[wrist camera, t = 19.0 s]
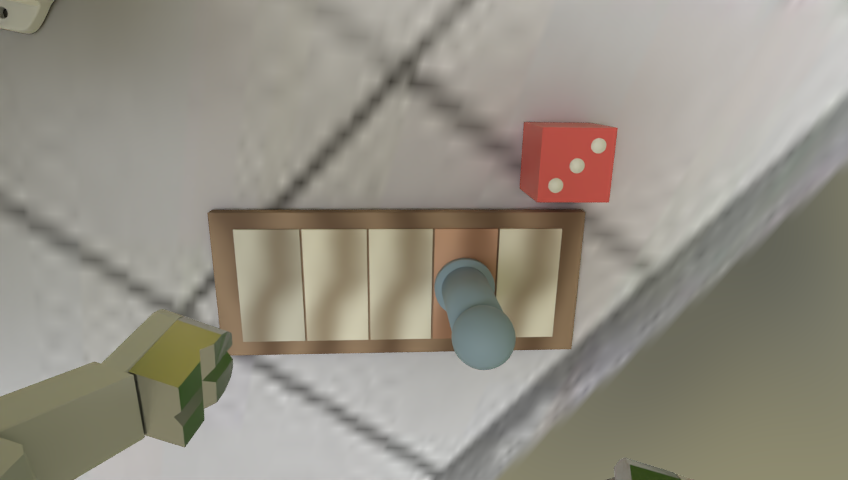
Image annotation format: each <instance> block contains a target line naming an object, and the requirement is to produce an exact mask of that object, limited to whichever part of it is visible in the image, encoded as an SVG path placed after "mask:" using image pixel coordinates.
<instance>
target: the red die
mask: <svg viewBox="0 0 848 480" xmlns="http://www.w3.org/2000/svg"><path fill="white" fill-rule="evenodd" d="M616 137H617V128H615V127H610V126H604V125H599V124H594V123H562V122H524V129H523V144H522V159H521V174H520V189H521V190H522V191H523V192H525V193H526V194H527V195H529V196H530V197H531V198H532V199H534V200H535V201H536V202H609V197H610V188H611V180H612V171H613V163H614V154H615V145H616Z"/></svg>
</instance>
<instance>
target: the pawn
mask: <svg viewBox="0 0 848 480" xmlns="http://www.w3.org/2000/svg"><path fill="white" fill-rule="evenodd" d="M434 290H435V295H436V298H437V301H438V303H439V304H440V306H441V307H442V308H443V309H444V310H445V311H446V312H447V315H448V319H449V323H450V327H451V331H452V335H451V336H452V345H453V348H454V351H455V353H456V354H457V356H458V357H459V358H460V359H461V361H463V362H464V363H465V364H466V365H468V366H470V367H472V368H475V369H479V370H489V369H493V368H496V367H498V366H500V365H502V364H503V363H505V362H506V361H507V360H508V358H509V357H510V356H511V354H512V352H513V350H514V347H515V341H516V336H515V330H514V327H513V324H512V322H511V321H510V319H509V318H508V316H507V315H506V314H505V313H504V312H503V310H502V308H501V306H500V304H499V302H498V300H497V298H496V296H495V294H494V292H495V282H494V279H493V276H492V274H491V272H490V271H489V269H488V268H487V267H486V266H485V265H484V264H483V263H481V262H480V261H478V260H475V259H472V258H459V259H455V260H452V261H450V262H449V263H447V264H446V265H444V266H443V267H442V268H441V270H440V271H439V272H438V274H437V276H436V279H435V284H434Z"/></svg>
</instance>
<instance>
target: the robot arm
mask: <svg viewBox="0 0 848 480" xmlns="http://www.w3.org/2000/svg"><path fill="white" fill-rule="evenodd" d="M53 2H54V0H0V29H4V30H9V31H14V32H18V33H23V34H31V33H34V32H35V31H37V30H38V29H39V28H40V26H41V25H42V23H43V21H44V19H45V17H46V15H47V13H48V11H49V9H50V6H51V4H52V3H53ZM4 9H6V10H7V11H8V16H7V18H5V17H4V16H3V10H4ZM231 346H232V333H230V332H228V331H225V330H222V329H220V328H217V327H214V326H211V325H208V324H205V323H202V322H200V321H197V320H194V319H191V318H188V317H185V316H182V315H179V314H176V313H173V312H170V311H167V310H164V309H161V310H159V311H156V312H154V313H153V314H152V315H151V316H150V317H149V318H148V319H147V320H146V321H145V322H144V323H143V324H142V325H140V326H139V327H138V328H137V329H136V330H135V331H134V332H133V333H132V334H131V335H130V336H129V337H128V338H127V339H126V340H125V341H124V342H123V343H122V344H121V345H120V346H119V347H118V348H117V349H116V350H115V351H114V352H113V353H112V354H111V355H110V356H109V357H108V358H106V359H105V360H104V361H103V362H102V363H101V364H100V363H97V362H92V363H89V364H87V365H84V366H81V367H79V368H76V369H73V370H71V371H68V372H65V373H63V374H60V375H57V376H55V377H52V378H49V379H47V380H44V381H41V382H39V383H36V384H33V385H30V386H28V387H25V388H22V389H20V390H17V391H14V392H12V393H9V394H6V395H4V396H1V397H0V480H74V479H76V478H77V477H79V476H81V475H82V474H84V473H86V472H87V471H89V470H91V469H92V468H94V467H96V466H98V465H99V464H101V463H103V462H104V461H106V460H108V459H109V458H111V457H113V456H114V455H116V454H118V453H119V452H121V451H123V450H125V449H126V448H128V447H130V446H131V445H133V444H135V443H136V442H138V441H140V440H141V439H143V438H144V437H145V436H144V435H146V436H150V437H153V438H156V439H159V440H162V441H166V442H169V443H172V444H175V445H179V446H182V447H186V445H187V444H188V442H189V441H190V440H191V438H192V437H193V435H194V434H195V433H196V431H197V430H198V428H199V427H200V426H201V424H202V423H203V421H204V408H207V407H209V406H211V405H213V404H215V403H217V402H218V400H219V399H220V397H221V396H222V394H223V393H224V391H225V389H226V387H227V385H228V382H229V380H230V378H231V374H232V369H233V359H232V357H231V356H230V355H229V353H228V352H227V351H228V350H229V348H230V347H231ZM614 473H615V477H613V478H610V479H607V480H694V479H690V478H687V477H684V476H681V475H678V474H675V473H673V472H670V471H667V470H664V469H660V468H657V467H654V466H651V465H647V464H644V463H641V462H637V461H634V460H631V459H628V458H623V459H621V460H619V461H618V463H617V464H616V465H615V467H614Z"/></svg>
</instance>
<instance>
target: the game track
mask: <svg viewBox="0 0 848 480" xmlns="http://www.w3.org/2000/svg"><path fill="white" fill-rule="evenodd" d="M584 221H585V212H584V211H582V210H581V209H524V210H211V211H210V212H208V222H209V231H210V241H211V250H212V259H213V269H214V278H215V288H216V297H217V306H218V316H219V325H220V329H222V330H225V331H228V332H230V333H232V346H231V347H230V348H229V350H228V351H227V352H228V353H229V355H276V354H330V353H384V352H438V351H454V348H453V345H452V336H451V335H452V331H451V327H450V323H449V319H448V315H447V312H446V311H445V310H444V309H443V308H442V307H441V306H440V304H439V303H438V301H437V298H436V295H435V290H434V284H435V279H436V276H437V274H438V272H439V271H440V270H441V268H442V267H443V266H444V265H446V264H447V263H449V262H450V261H452V260H455V259H459V258H472V259H475V260H478V261H480V262H481V263H483V264H484V265H485V266H486V267H487V268H488V269H489V271H490V272H491V274H492V276H493V279H494V282H495V292H494V294H495V296H496V298H497V300H498V302H499V304H500V306H501V308H502V310H503V312H504V313H505V314H506V315H507V316H508V318H509V319H510V321H511V322H512V324H513V327H514V330H515V336H516V341H515V347H514V350H546V349H571V346H572V336H573V327H574V317H575V308H576V298H577V288H578V279H579V269H580V260H581V250H582V240H583V231H584Z"/></svg>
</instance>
